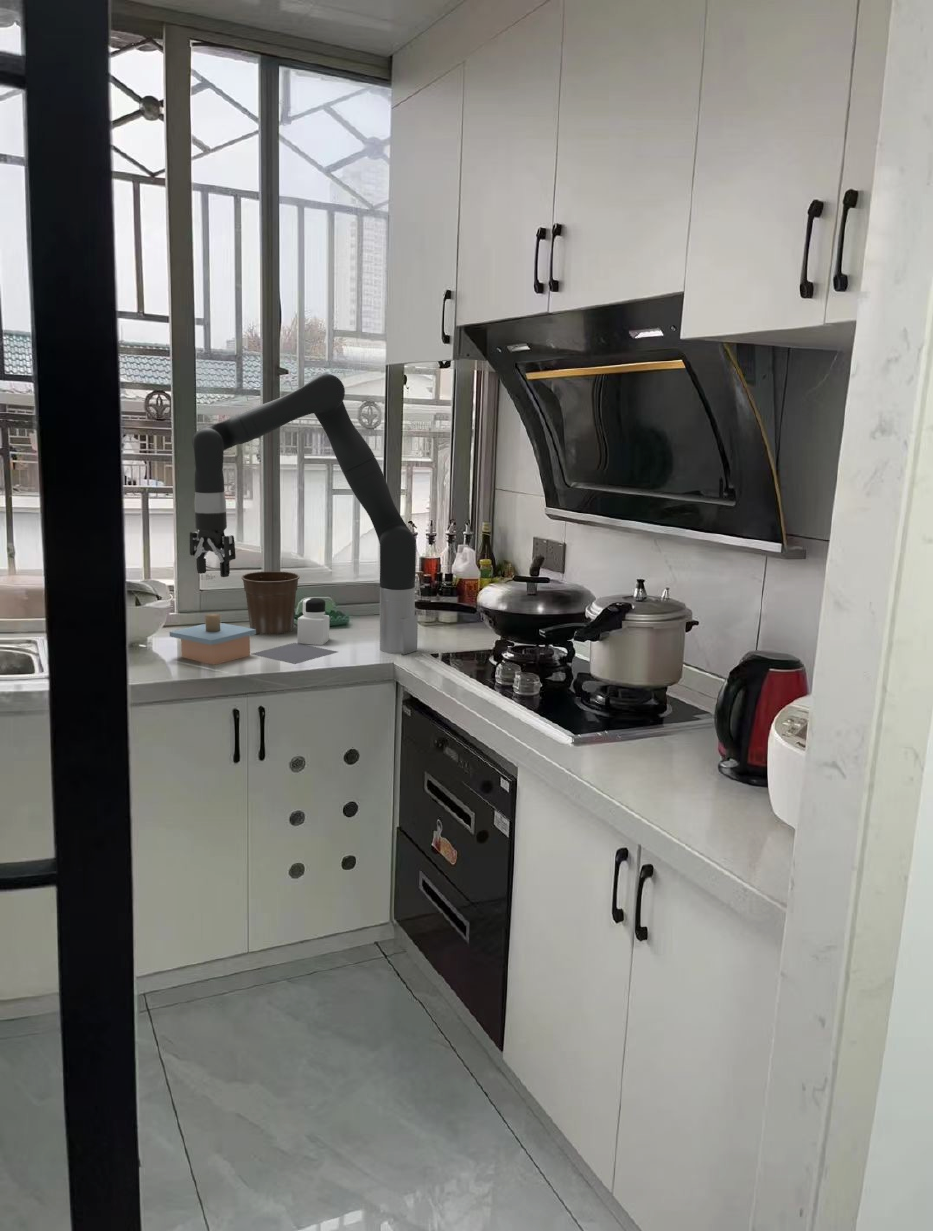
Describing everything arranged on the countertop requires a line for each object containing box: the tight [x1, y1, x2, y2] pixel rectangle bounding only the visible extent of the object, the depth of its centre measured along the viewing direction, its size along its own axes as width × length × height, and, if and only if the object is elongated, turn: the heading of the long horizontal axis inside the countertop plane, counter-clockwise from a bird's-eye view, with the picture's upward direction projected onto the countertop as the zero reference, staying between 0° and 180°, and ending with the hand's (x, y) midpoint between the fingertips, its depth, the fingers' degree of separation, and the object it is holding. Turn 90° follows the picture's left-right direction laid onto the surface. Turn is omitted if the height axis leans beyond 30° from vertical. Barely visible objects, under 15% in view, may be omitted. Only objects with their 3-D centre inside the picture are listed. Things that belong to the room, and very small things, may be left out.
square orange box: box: [180, 635, 251, 666], centre depth 247 cm, size 12×12×6 cm
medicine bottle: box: [296, 597, 331, 646], centre depth 264 cm, size 7×7×12 cm
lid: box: [168, 613, 257, 645], centre depth 245 cm, size 15×15×5 cm
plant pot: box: [241, 570, 301, 636], centre depth 276 cm, size 16×16×16 cm
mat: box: [251, 642, 338, 665], centre depth 252 cm, size 16×16×1 cm
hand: (213, 575), depth 243 cm, fingers open, 8 cm apart
